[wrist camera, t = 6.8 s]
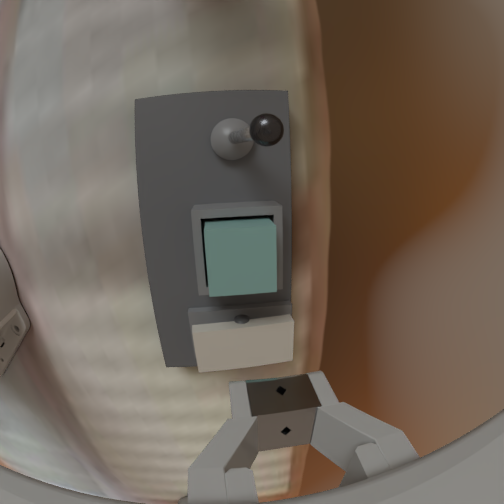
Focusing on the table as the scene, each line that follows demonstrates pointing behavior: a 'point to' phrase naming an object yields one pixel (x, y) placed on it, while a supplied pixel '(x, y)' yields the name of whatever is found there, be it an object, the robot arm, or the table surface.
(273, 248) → the push button
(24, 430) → the table surface
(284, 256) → the control panel
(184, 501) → the cup
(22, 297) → the table surface
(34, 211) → the table surface
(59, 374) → the table surface
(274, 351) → the rocker switch
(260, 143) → the toggle lever
